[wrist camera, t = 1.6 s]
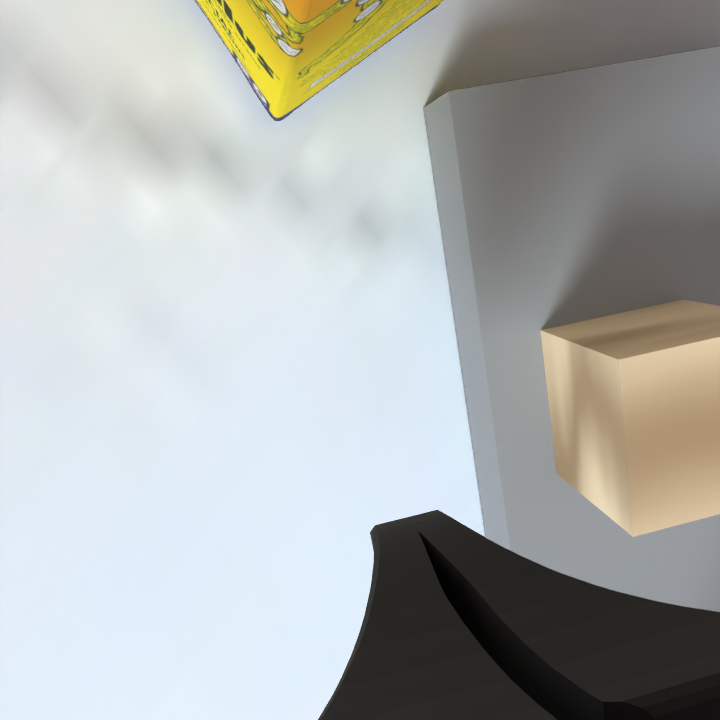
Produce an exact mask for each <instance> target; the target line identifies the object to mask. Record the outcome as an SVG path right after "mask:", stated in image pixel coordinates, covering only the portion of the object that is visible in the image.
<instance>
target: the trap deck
mask: <svg viewBox="0 0 720 720" xmlns="http://www.w3.org/2000/svg"><path fill="white" fill-rule="evenodd" d="M423 109H424V116H425V123H426V130H427V137H428V144H429V150H430V157H431V164H432V171H433V178H434V185H435V192H436V199H437V206H438V213H439V220H440V226H441V233H442V240H443V247H444V254H445V261H446V268H447V275H448V282H449V289H450V296H451V302H452V309H453V316H454V323H455V330H456V337H457V344H458V351H459V358H460V365H461V372H462V379H463V385H464V392H465V399H466V406H467V413H468V420H469V427H470V434H471V441H472V448H473V455H474V461H475V468H476V475H477V482H478V489H479V496H480V503H481V510H482V517H483V524H484V531H485V537H486V538H487V539H489V540H491V541H493V542H495V543H497V544H498V545H500V546H502V547H504V548H506V549H508V550H510V551H512V552H514V553H516V554H518V555H520V556H523V557H525V558H527V559H529V560H531V561H534V562H536V563H538V564H540V565H543V566H545V567H547V568H550V569H552V570H555V571H557V572H560V573H562V574H565V575H568V576H571V577H574V578H576V579H579V580H582V581H585V582H588V583H591V584H594V585H597V586H600V587H604V588H607V589H610V590H614V591H617V592H621V593H625V594H630V595H634V596H638V597H642V598H646V599H650V600H654V601H659V602H664V603H669V604H674V605H679V606H684V607H691V608H697V609H704V610H710V611H716V612H720V514H718V515H714V516H711V517H707V518H703V519H699V520H695V521H692V522H688V523H684V524H680V525H677V526H673V527H669V528H665V529H661V530H658V531H654V532H650V533H646V534H642V535H639V536H635V537H633V536H631V535H630V534H629V533H628V532H626V531H625V530H624V529H623V528H622V527H620V526H619V525H618V524H617V523H616V522H614V521H613V520H612V519H611V518H610V517H608V516H607V515H606V514H605V513H604V512H602V511H601V510H600V509H599V508H597V507H596V506H595V505H594V504H593V503H591V502H590V501H589V500H588V499H587V498H585V497H584V496H583V495H582V494H581V493H579V492H578V491H577V490H576V489H574V488H573V487H572V486H571V485H570V484H568V483H567V482H566V481H565V480H564V479H562V478H561V477H560V476H559V475H558V474H556V465H555V456H554V447H553V438H552V429H551V420H550V411H549V402H548V393H547V384H546V375H545V366H544V357H543V348H542V339H541V330H544V329H549V328H554V327H558V326H563V325H567V324H572V323H577V322H581V321H586V320H591V319H595V318H600V317H604V316H609V315H614V314H618V313H623V312H627V311H632V310H637V309H641V308H646V307H650V306H655V305H660V304H664V303H669V302H673V301H678V300H683V299H684V300H690V301H695V302H701V303H706V304H712V305H717V306H720V46H718V47H712V48H706V49H700V50H694V51H688V52H682V53H676V54H670V55H663V56H657V57H651V58H645V59H639V60H633V61H627V62H621V63H615V64H609V65H603V66H597V67H591V68H585V69H579V70H573V71H567V72H561V73H555V74H549V75H543V76H537V77H530V78H524V79H518V80H512V81H506V82H500V83H494V84H488V85H482V86H476V87H470V88H464V89H458V90H452V91H448V92H446V93H445V94H443V95H442V96H440V97H439V98H437V99H436V100H434V101H433V102H431V103H430V104H428V105H427V106H425V107H424V108H423Z"/></svg>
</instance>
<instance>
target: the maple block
mask: <svg viewBox="0 0 720 720" xmlns="http://www.w3.org/2000/svg"><path fill="white" fill-rule="evenodd" d="M541 339H542V348H543V357H544V366H545V375H546V384H547V393H548V402H549V411H550V420H551V429H552V438H553V447H554V456H555V465H556V474H558V475H559V476H560V477H561V478H562V479H564V480H565V481H566V482H567V483H568V484H570V485H571V486H572V487H573V488H574V489H576V490H577V491H578V492H579V493H581V494H582V495H583V496H584V497H585V498H587V499H588V500H589V501H590V502H591V503H593V504H594V505H595V506H596V507H597V508H599V509H600V510H601V511H602V512H604V513H605V514H606V515H607V516H608V517H610V518H611V519H612V520H613V521H614V522H616V523H617V524H618V525H619V526H620V527H622V528H623V529H624V530H625V531H626V532H628V533H629V534H630V535H631V536H633V537H635V536H639V535H642V534H646V533H650V532H654V531H658V530H661V529H665V528H669V527H673V526H677V525H680V524H684V523H688V522H692V521H695V520H699V519H703V518H707V517H711V516H714V515H718V514H720V306H717V305H712V304H706V303H701V302H695V301H690V300H684V299H683V300H678V301H673V302H669V303H664V304H660V305H655V306H650V307H646V308H641V309H637V310H632V311H627V312H623V313H618V314H614V315H609V316H604V317H600V318H595V319H591V320H586V321H581V322H577V323H572V324H567V325H563V326H558V327H554V328H549V329H544V330H541Z"/></svg>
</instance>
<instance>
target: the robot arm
mask: <svg viewBox="0 0 720 720" xmlns="http://www.w3.org/2000/svg"><path fill="white" fill-rule="evenodd" d="M370 534H371V539H372V545H373V550H374V565H373V574H372V583H371V589H370V594H369V598H368V603H367V607H366V611H365V616H364V619H363V623H362V626H361V630H360V633H359V636H358V639H357V641H356V644H355V647H354V650H353V652H352V655H351V657H350V659H349V662H348V664H347V666H346V669H345V671H344V673H343V675H342V678H341V680H340V682H339V684H338V686H337V688H336V690H335V692H334V694H333V696H332V697H331V699H330V701H329V702H328V704H327V706H326V707H325V709H324V711H323V712H322V714H321V716H320V717H319V719H318V720H720V612H716V611H710V610H704V609H697V608H691V607H684V606H679V605H674V604H669V603H664V602H659V601H654V600H650V599H646V598H642V597H638V596H634V595H630V594H625V593H621V592H617V591H614V590H610V589H607V588H604V587H600V586H597V585H594V584H591V583H588V582H585V581H582V580H579V579H576V578H574V577H571V576H568V575H565V574H562V573H560V572H557V571H555V570H552V569H550V568H547V567H545V566H543V565H540V564H538V563H536V562H534V561H531V560H529V559H527V558H525V557H523V556H520V555H518V554H516V553H514V552H512V551H510V550H508V549H506V548H504V547H502V546H500V545H498V544H497V543H495V542H493V541H491V540H489V539H487V538H485V537H484V536H482V535H480V534H478V533H477V532H475V531H473V530H471V529H470V528H468V527H466V526H465V525H463V524H461V523H459V522H458V521H456V520H454V519H453V518H451V517H449V516H448V515H446V514H444V513H442V512H440V511H439V510H435V511H431V512H427V513H423V514H419V515H415V516H411V517H407V518H403V519H399V520H395V521H391V522H387V523H383V524H379V525H375V526H374V528H373V529H372V531H371V532H370Z"/></svg>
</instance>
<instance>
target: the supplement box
mask: <svg viewBox="0 0 720 720" xmlns="http://www.w3.org/2000/svg"><path fill="white" fill-rule="evenodd" d="M442 1H443V0H195V2H196V3H197V4H198V6H199V7H200V9H201V10H202V12H203V13H204V14H205V16H206V17H207V19H208V20H209V22H210V23H211V25H212V26H213V28H214V29H215V31H216V32H217V34H218V35H219V37H220V38H221V40H222V41H223V43H224V44H225V46H226V47H227V49H228V50H229V52H230V53H231V55H232V56H233V58H234V59H235V61H236V62H237V64H238V66H239V67H240V69H241V70H242V72H243V74H244V75H245V77H246V79H247V80H248V82H249V84H250V85H251V87H252V89H253V90H254V92H255V94H256V95H257V97H258V98H259V100H260V101H261V103H262V104H263V106H264V107H265V109H266V110H267V112H268V113H269V115H270V116H271V117H272V118H273V119H274V120H275V121H281V120H283V119H285V118H286V117H287V116H288V115H290V114H291V113H292V112H293V111H294V110H296V109H297V108H298V107H300V106H301V105H302V104H304V103H305V102H306V101H307V100H309V99H310V98H311V97H313V96H314V95H316V94H317V93H318V92H320V91H321V90H322V89H324V88H325V87H326V86H328V85H329V84H331V83H332V82H333V81H335V80H336V79H337V78H339V77H340V76H342V75H343V74H345V73H346V72H347V71H349V70H350V69H352V68H353V67H354V66H356V65H357V64H359V63H360V62H361V61H362V60H364V59H365V58H366V57H368V56H369V55H370V54H372V53H373V52H375V51H376V50H377V49H379V48H380V47H381V46H383V45H384V44H386V43H387V42H388V41H390V40H391V39H392V38H394V37H395V36H396V35H398V34H399V33H401V32H402V31H404V30H405V29H406V28H408V27H409V26H410V25H411V24H413V23H414V22H416V21H417V20H418V19H420V18H421V17H423V16H424V15H426V14H427V13H428V12H430V11H431V10H433V9H435V8H436V7H437V6H438V5H439V4H440V3H441V2H442Z"/></svg>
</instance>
